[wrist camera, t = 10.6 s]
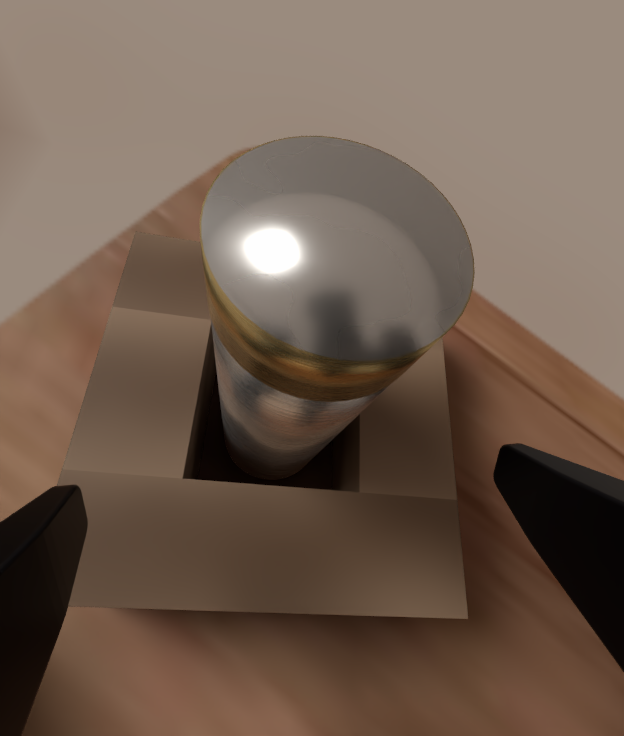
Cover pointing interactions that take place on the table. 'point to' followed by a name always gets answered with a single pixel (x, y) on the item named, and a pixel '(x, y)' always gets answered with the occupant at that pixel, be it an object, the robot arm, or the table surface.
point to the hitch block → (251, 501)
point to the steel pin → (322, 290)
